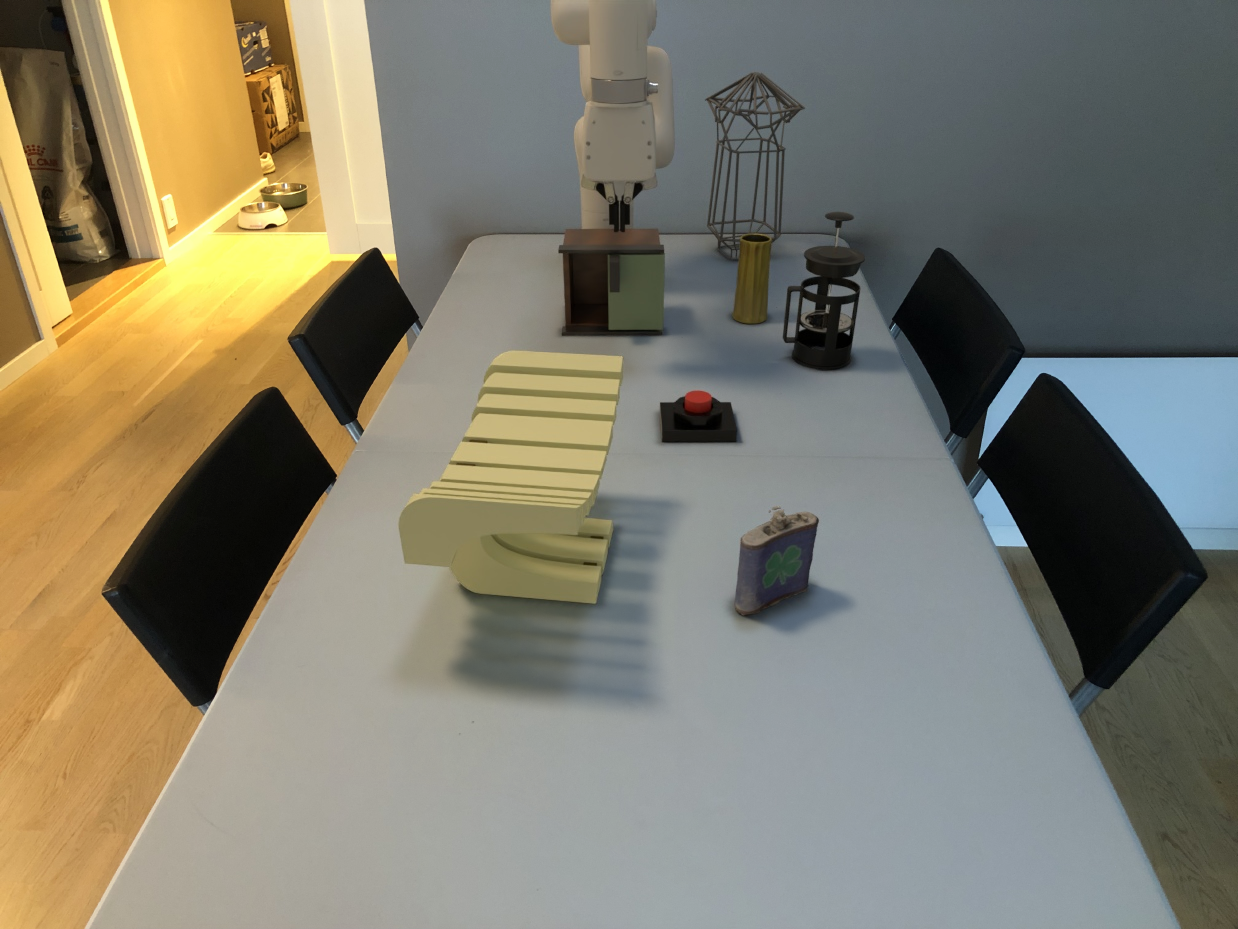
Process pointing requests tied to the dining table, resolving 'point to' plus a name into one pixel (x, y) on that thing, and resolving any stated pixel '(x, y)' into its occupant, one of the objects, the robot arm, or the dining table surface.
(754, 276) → the vase
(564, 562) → the slatted curved stool
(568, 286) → the cupboard
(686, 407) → the button
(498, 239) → the dining table surface
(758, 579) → the flask
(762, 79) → the geometric lantern
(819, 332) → the french press
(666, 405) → the control block
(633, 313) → the door
